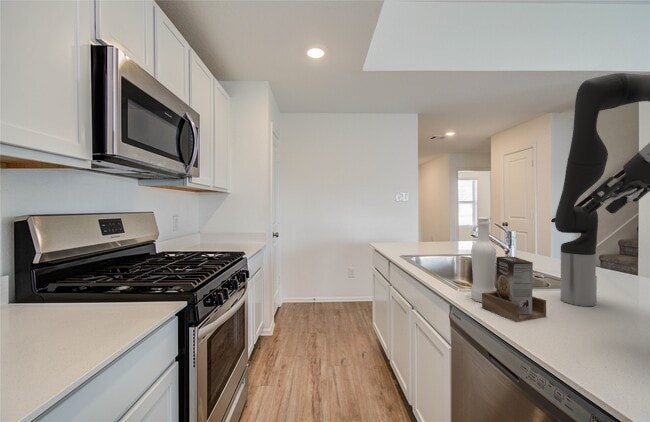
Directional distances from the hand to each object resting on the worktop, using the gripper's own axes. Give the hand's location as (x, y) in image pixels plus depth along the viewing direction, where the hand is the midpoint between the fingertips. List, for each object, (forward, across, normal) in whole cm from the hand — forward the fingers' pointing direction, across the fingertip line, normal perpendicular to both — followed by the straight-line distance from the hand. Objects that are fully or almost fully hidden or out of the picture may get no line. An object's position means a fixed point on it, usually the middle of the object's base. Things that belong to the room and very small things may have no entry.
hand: (597, 211), depth 75 cm
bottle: (+46, +3, 0) cm, 46 cm away
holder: (+38, +4, +8) cm, 39 cm away
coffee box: (+37, +4, +8) cm, 38 cm away
